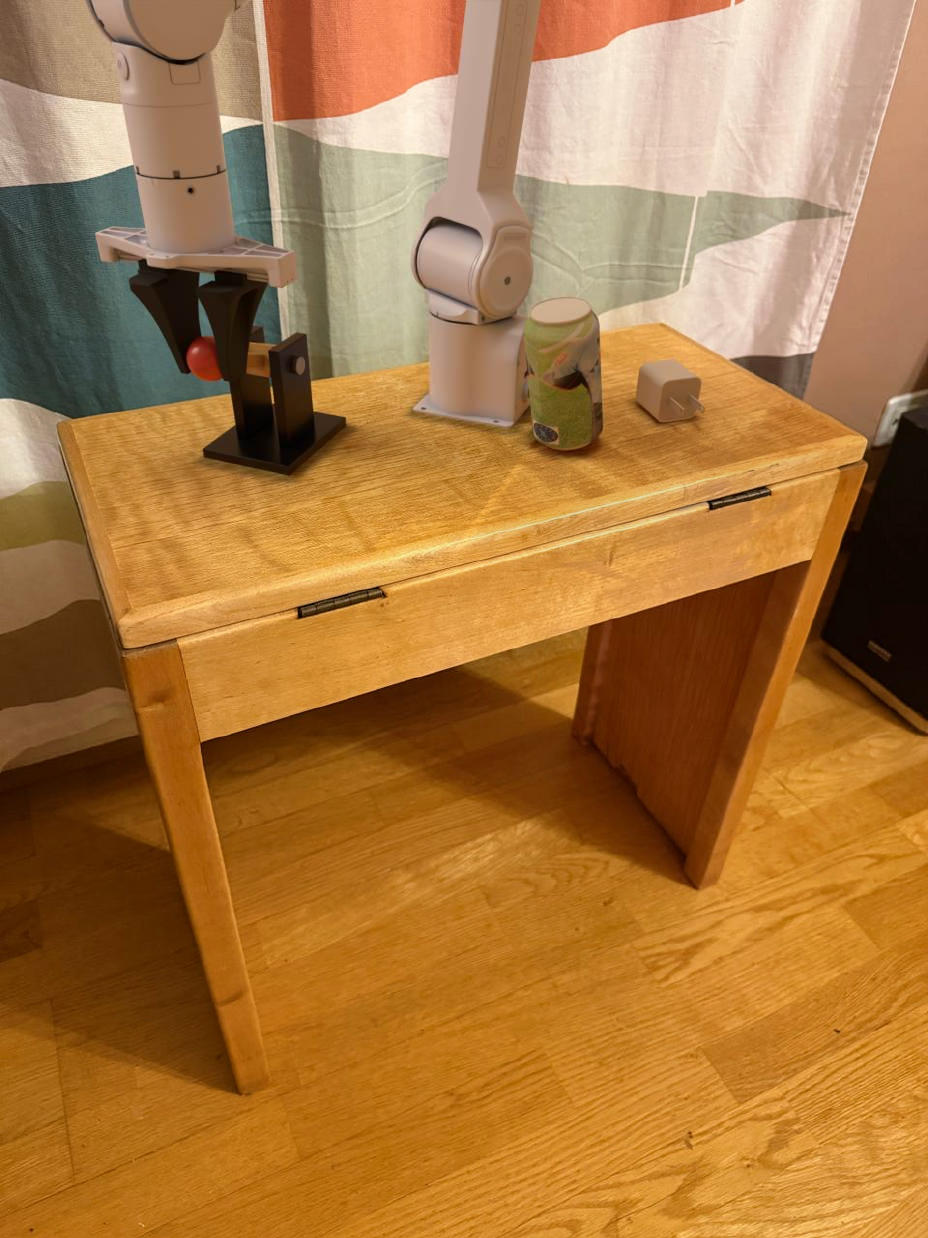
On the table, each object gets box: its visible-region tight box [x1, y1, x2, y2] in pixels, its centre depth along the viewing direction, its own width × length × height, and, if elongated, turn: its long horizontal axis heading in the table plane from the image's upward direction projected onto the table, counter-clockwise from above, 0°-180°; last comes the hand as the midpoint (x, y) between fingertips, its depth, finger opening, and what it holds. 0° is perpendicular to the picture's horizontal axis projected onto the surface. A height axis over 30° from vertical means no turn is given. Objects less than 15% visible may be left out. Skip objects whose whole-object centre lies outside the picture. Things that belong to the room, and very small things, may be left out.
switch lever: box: [186, 335, 277, 383], centre depth 70 cm, size 11×3×3 cm, turn 158°
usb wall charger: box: [635, 358, 706, 423], centre depth 82 cm, size 4×7×4 cm, turn 18°
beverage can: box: [524, 296, 604, 451], centre depth 76 cm, size 6×7×12 cm
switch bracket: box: [202, 324, 347, 476], centre depth 75 cm, size 10×8×9 cm
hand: (213, 372), depth 67 cm, fingers closed on switch lever, 3 cm apart
